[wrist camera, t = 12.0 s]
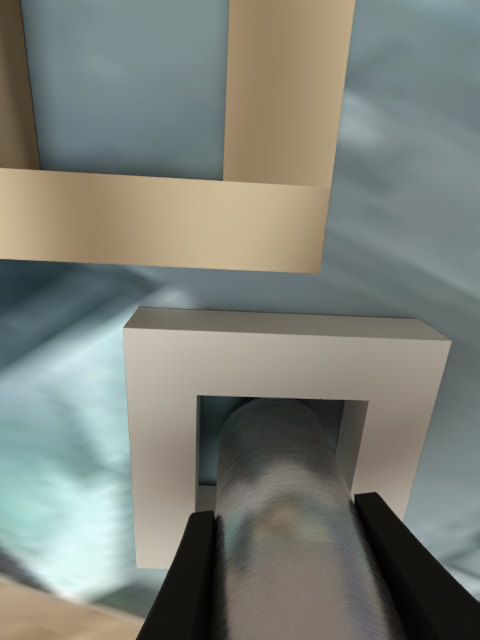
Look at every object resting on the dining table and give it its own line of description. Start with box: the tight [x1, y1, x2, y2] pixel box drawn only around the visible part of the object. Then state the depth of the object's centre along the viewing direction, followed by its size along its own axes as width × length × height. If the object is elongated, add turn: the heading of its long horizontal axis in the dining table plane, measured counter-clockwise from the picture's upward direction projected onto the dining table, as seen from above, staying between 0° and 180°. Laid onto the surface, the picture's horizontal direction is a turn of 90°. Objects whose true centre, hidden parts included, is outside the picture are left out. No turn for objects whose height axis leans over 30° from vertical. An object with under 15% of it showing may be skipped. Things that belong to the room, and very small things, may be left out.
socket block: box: [0, 0, 355, 274], centre depth 9 cm, size 11×11×2 cm
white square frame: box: [123, 307, 452, 569], centre depth 14 cm, size 10×10×2 cm
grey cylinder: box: [210, 397, 409, 640], centre depth 9 cm, size 4×4×9 cm
